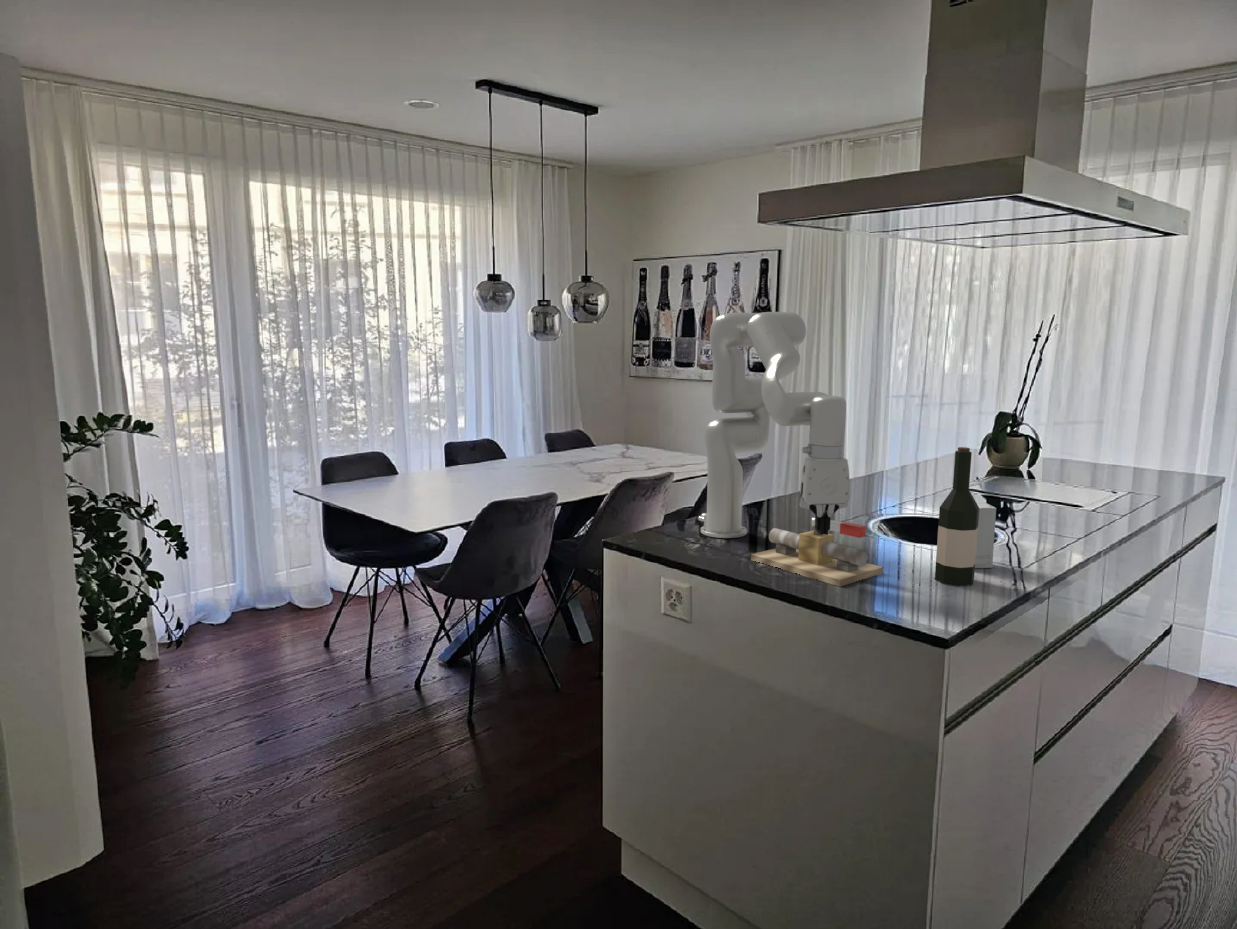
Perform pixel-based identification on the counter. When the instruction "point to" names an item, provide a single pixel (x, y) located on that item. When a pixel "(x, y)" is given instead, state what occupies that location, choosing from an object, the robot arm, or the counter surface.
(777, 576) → the counter surface
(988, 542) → the skincare box
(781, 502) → the counter surface
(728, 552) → the counter surface
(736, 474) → the robot arm
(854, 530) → the valve lever
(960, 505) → the wine bottle
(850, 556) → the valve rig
